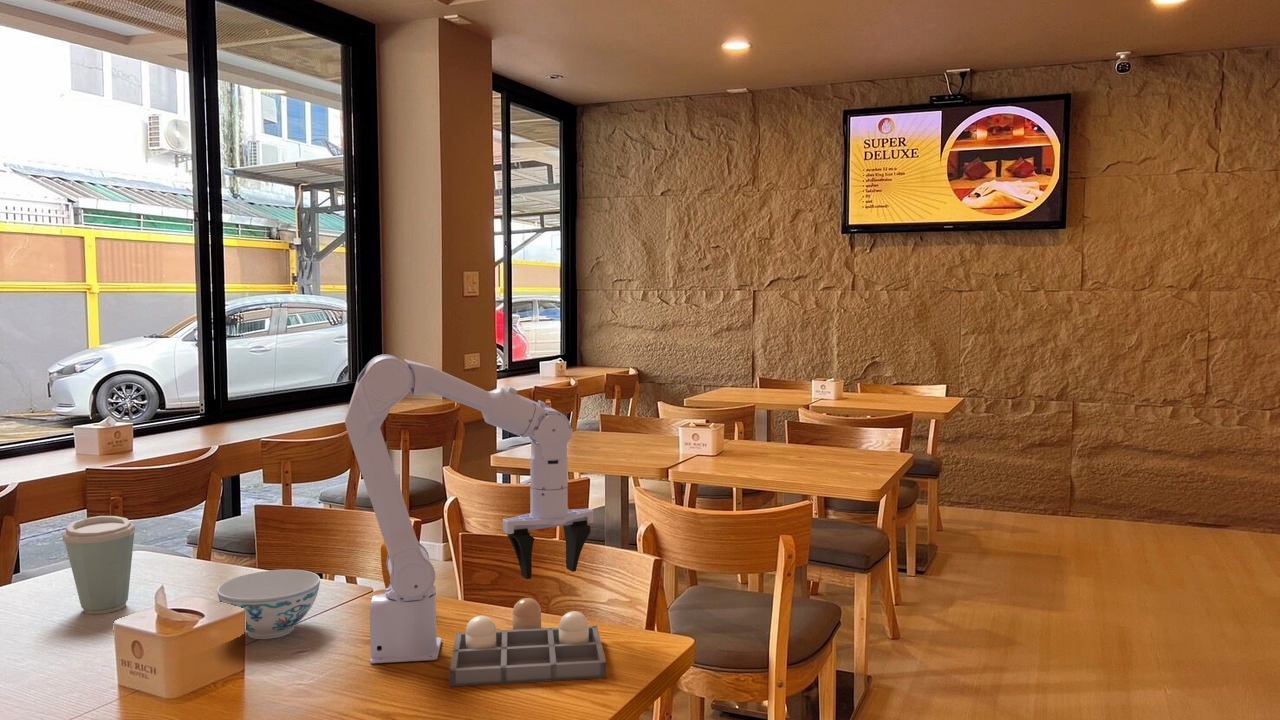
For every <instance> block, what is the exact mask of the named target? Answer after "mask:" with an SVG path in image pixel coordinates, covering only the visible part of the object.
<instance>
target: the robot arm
mask: <svg viewBox="0 0 1280 720" xmlns="http://www.w3.org/2000/svg"><path fill="white" fill-rule="evenodd" d="M409 393H411V394H412V395H413V397H417V396H422V395H423V396H424V395H429V394H435V395H437V396H440V397H443V398H445V399H448V400H450V401H454V402H456V403H459V404H462V405H465V406H467V407H469V408H471V409H472V408H473V409H476V410H477V411H480V412H481V414H482V418H483V420H484V422H485V423H486V424H488V425H491V426H494V427H496V428H499V429H501V430H503V431H506V432H508V433H511V434H513V435H516V436H518V437H521V438H529V439H530V440H531V441H530V449H531V450H530V459H529V463H530V467H529V469H530V471H529V474H530V476H529V477H530V478H529V479H530V480H529V481H530V489H529V490H530V491H529V492H530V493H529V494H530V495H529V496H530V498H529V499H530V502H529V503H530V508H529V509H530V513H525V514H521V515H517V516H514V517H507V518H503V519H502V532H503V533H504V534H506V536H507V538H508V540H509V541H510V543H511V545H512V547H513V549H514V551H515V555H516V557H517V560H518V564H519V569H520V573H521V577H522V578H524V579H525V580H529V579H532V573H533V572H532V556H533V553H532V552H533V548H534V541H535V538H534V536H532V535H531V533H530V531H533V530H539V529H548V528H556V527H561V526H562V527H563V532H564V540H565V565H566V566H565V567H566V569H567V570H568V571H571V572H572V573H573V572H576V571H577V569H578V563H579V559H580V556H581V553H582V550H583V548H584V545H585V543H586V541H587V539H588V537H589V536H590V534H591V531H592V530H591V525H590V524H592V523H594V522H595V521H594V510H593V509H591V508H575V509H568V502H569V501H568V500H569V499H568V497H569V496H568V493H569V492H568V484H569V482H568V480H569V479H568V475H569V474H568V473H569V472H568V471H569V470H568V469H569V466H568V465H569V463H568V462H569V461H568V460H569V459H568V443H569V442H570V440H571V439H572V436H573V433H574V432H573V431H574V429H573V428H572V427H571V422H570V420H569V418H567V416H566V415H565V414H563V413H562V412H560V411H558V410H556V409H554V408H552V407H551V406H550V405H546V402H544V401H542V400H537V402H536V401H535V400H532V399H531V398H527V397H525V396H522V395H520V394H518V389H515V388H513V387H511V386H508V387H507V388H505V387H498V388H497V387H496V388H495V389H493V390H490V391H489V390H488V391H487V390H485V389H483V388H481V387H478V386H476V385H474V384H472V383H469V382H467V381H465V380H463V379H461V378H458V377H456V376H453V375H451V374H449V373H447V372H445V371H443V370H440V369H438V368H436V367H433V366H431V365H428V364H424V363H421V362H417V361H412V360H410V359H409V360H408V359H404V362H403V361H402V360H401V359H400V358H399V357H397V356H396V355H392V354H383V353H382V354H380V355H376V356H374V357H373V358H371V359H370V360H369V361H367V363H366V364H365V366H364V368H363V369H362V370H361V371H360V373H359V374H358V376H357V379H356V382H355V385H354V389H353V393H352V395H351V398H350V402H349V405H348V409H347V411H346V414H345V419H344V423H345V429H346V431H347V435H348V438H349V441H350V444H351V446H352V450H353V452H354V454H355V455H354V456H355V458H356V461H357V464H358V468H359V470H360V473H361V476H362V479H363V482H364V485H365V488H366V490H367V493H368V494H367V495H368V498H369V499H370V503H371V505H372V509H373V513H374V515H375V518H376V520H377V523H378V526H379V529H380V531H381V535H382V538H383V542H385V545H386V549H387V552H388V557H387V569H388V572H389V574H390V585H389V586H388V588H387V589H386V588H385V593H379V594H373V595H372V597H371V601H370V608H369V635H370V636H369V637H370V638H369V645H370V658H369V661H370V664H383V663H385V664H386V663H404V662H405V663H406V662H421V661H423V662H424V661H436V660H438V658H439V655H440V650H441V649H440V648H441V643H442V638H441V637H437V634H438V633H437V595H436V594H437V587H436V585H434V584H435V582H436V571H435V567H434V566H433V564H432V563H431V561H430V555H429V552H428V550H427V549H426V547H425V546H423V545H422V544H421V543H420V542H419V541H418V538H417V536H416V532H415V529H414V526H413V524H412V520H411V517H410V514H409V511H408V509H407V505H406V501H405V500H404V495H403V493H402V490H401V488H400V487H401V486H400V484H399V481H398V478H397V475H396V472H395V469H394V466H393V463H392V460H391V456H390V454H389V452H388V448H387V445H386V440H385V438H384V436H383V432H382V430H381V426H382V424H384V421H385V420H386V418H387V416H388V415H389V414H390V411H391V409H392V408H394V407H395V406H396V405H397V404H398V403H400V402H401V401H402V400H403V399H404V398H405V397H406V396H408V394H409Z"/></svg>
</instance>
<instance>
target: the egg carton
mask: <svg viewBox="0 0 1280 720" xmlns="http://www.w3.org/2000/svg"><path fill="white" fill-rule="evenodd" d="M558 623H559V624H558V627H541V628H539V629H519V630H513V629H505V630H503V629H502V630H501V629H500V630H499V629H498V630H497V627H496V624H495V622H494V621H493V620H492V619H491V618H490V617H489V616H486V615H477V616H475V617H473V618H471V620H469V621H468V622H467V624H466V627H465V632H464V631H463V632H456V633H455V638H454V643H453V650H452V656H451V661H450V666H449V687H451V688H452V687H453V688H454V687H469V686H488V685H489V686H491V685H503V684H520V683H521V684H522V683H535V682H536V683H537V682H538V683H539V682H556V681H557V682H560V681H575V680H577V681H578V680H588V679H589V680H591V679H606V678H607V661H606V656H605V651H604V648H603V644H602V640H601V639H602V638H601V636H600V633H599V628H598V625H589V621H588V618H587V617H586V616H585V615H584V614H583V613H582V612H581V611H577V610H576V611H574V610H573V611H568V612H566V613H565V614H564V615H562V617H561V618H560V621H559V622H558Z"/></svg>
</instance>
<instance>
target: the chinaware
mask: <svg viewBox="0 0 1280 720" xmlns="http://www.w3.org/2000/svg"><path fill="white" fill-rule="evenodd" d="M320 583H321V578H320V576H319V575H318V574H317V573H314V572H312V571H309V570H301V569H274V570H263V571H258V572H257V571H256V572H251V573H247V574H242V575H239V576H236V577H233V578H230V579H228V580H226V581H224V582H223V583H221V584H220V585H219V586H217V588H216V589H217V590H216V594H217V597H218V600H219V603H220V602H223V603H227V604H231V605H234V606H238V607H241V608H244V609H245V610H246V630H245V631H247V636H248V637H250V638H252V639H257V640H269V639H277V638H280V637H284V636H286V635H289V634H290V633H292V632H293V631H294V629H295V628H294V627H295V625H296V624H297V623H298V622H300V621H301V620H302V619H304V618H305V616H306V615H307V614H308V612H309V611H310V610H311V609H312V607H313V605H314V603H315V601H316V599H317V597H318V593H319V589H320V585H321V584H320Z"/></svg>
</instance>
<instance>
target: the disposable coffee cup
mask: <svg viewBox="0 0 1280 720" xmlns="http://www.w3.org/2000/svg"><path fill="white" fill-rule="evenodd" d="M136 531H137V530H136V527H135V525H134V524H133V523H132V521H130V520H129V519H128V518H127V517H122V516H117V515H99V516H98V515H97V516H92V517H85V518H81V519H78V520H75V521H71V522H69V524H68V525H67V526H65V532H63V534H62V539H61V541H62V542H64V544H65V547H66V548H65V549H66V551H67V555H68V559H69V563H70V568H71V572H72V575H73V580H74V583H75V588H76V592H77V595H78V599H79V604H80V607H81V609H82V610H83V612H84V614H86V613H88V614H87V615H92V614H95V615H105V614H108V613H113V612H117V611H120V610H121V609H123V608H125V607H126V605H127V602H128V600H129V593H130V591H129V590H130V581H131V579H130V578H131V570H132V562H133V561H132V559H133V551H134V539H135V532H136Z"/></svg>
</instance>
